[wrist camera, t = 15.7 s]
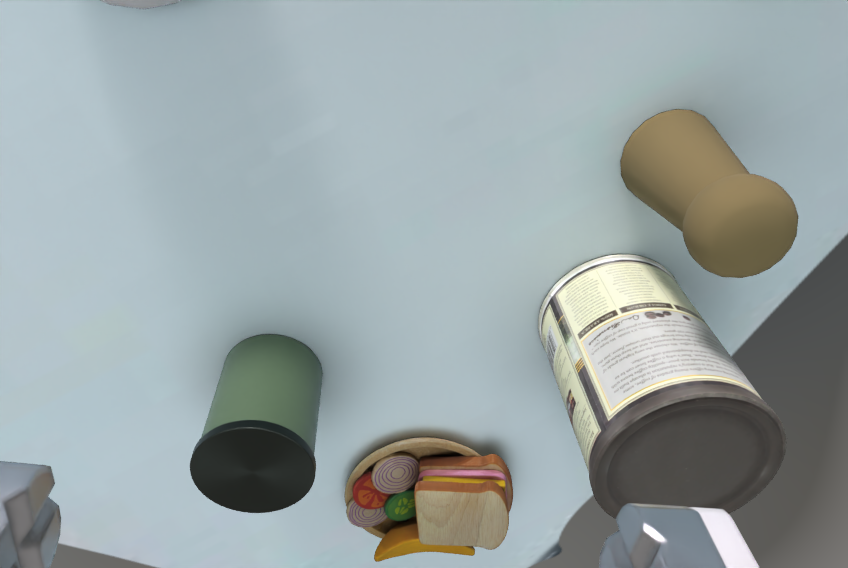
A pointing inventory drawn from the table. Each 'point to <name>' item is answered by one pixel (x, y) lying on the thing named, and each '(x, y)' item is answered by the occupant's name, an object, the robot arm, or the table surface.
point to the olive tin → (261, 427)
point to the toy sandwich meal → (430, 498)
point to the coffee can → (654, 391)
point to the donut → (140, 3)
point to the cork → (709, 194)
